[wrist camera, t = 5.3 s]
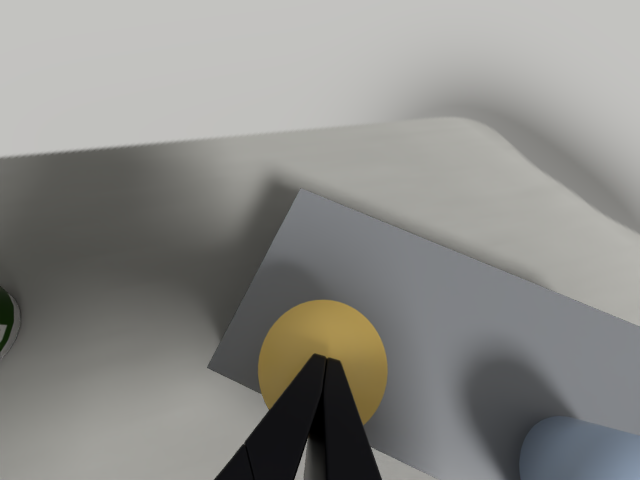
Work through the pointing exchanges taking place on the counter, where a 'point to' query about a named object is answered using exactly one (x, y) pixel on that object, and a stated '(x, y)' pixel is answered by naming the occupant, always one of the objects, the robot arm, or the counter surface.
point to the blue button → (578, 452)
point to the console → (442, 341)
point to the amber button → (325, 351)
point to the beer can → (8, 321)
